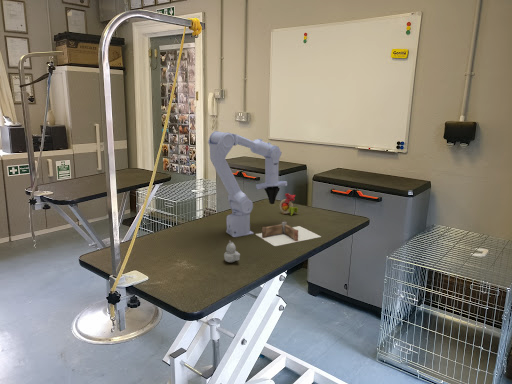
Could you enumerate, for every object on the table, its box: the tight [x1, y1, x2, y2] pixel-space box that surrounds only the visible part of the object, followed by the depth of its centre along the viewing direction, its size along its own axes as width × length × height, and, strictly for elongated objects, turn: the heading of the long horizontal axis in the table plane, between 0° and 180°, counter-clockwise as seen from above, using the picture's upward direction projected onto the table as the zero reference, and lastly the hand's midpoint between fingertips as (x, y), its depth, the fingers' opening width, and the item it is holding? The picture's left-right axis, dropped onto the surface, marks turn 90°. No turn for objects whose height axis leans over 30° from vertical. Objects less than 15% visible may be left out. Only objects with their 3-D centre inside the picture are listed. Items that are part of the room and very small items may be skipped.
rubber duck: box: [223, 240, 241, 264], centre depth 140 cm, size 5×7×8 cm
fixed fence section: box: [261, 221, 288, 239], centre depth 166 cm, size 11×2×5 cm, turn 118°
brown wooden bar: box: [285, 224, 298, 240], centre depth 163 cm, size 9×2×4 cm, turn 25°
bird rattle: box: [279, 193, 299, 217], centre depth 196 cm, size 6×11×9 cm
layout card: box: [255, 225, 322, 247], centre depth 166 cm, size 22×16×1 cm
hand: (271, 203), depth 177 cm, fingers closed
